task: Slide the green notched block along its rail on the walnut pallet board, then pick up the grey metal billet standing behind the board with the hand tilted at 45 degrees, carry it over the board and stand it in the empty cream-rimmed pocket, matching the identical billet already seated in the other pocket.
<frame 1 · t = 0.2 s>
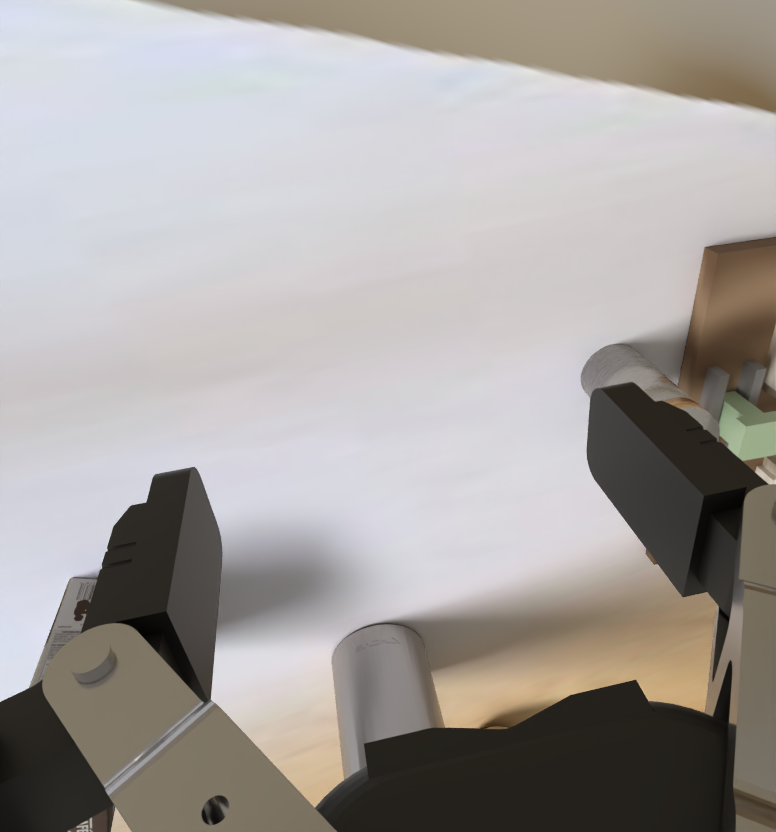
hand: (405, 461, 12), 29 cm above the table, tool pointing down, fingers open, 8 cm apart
green notched block: (740, 424, 47), point 4 cm above the table, slide at 0.0 cm
coffee box: (110, 614, 52), on the table
billet: (610, 372, 48), on the table
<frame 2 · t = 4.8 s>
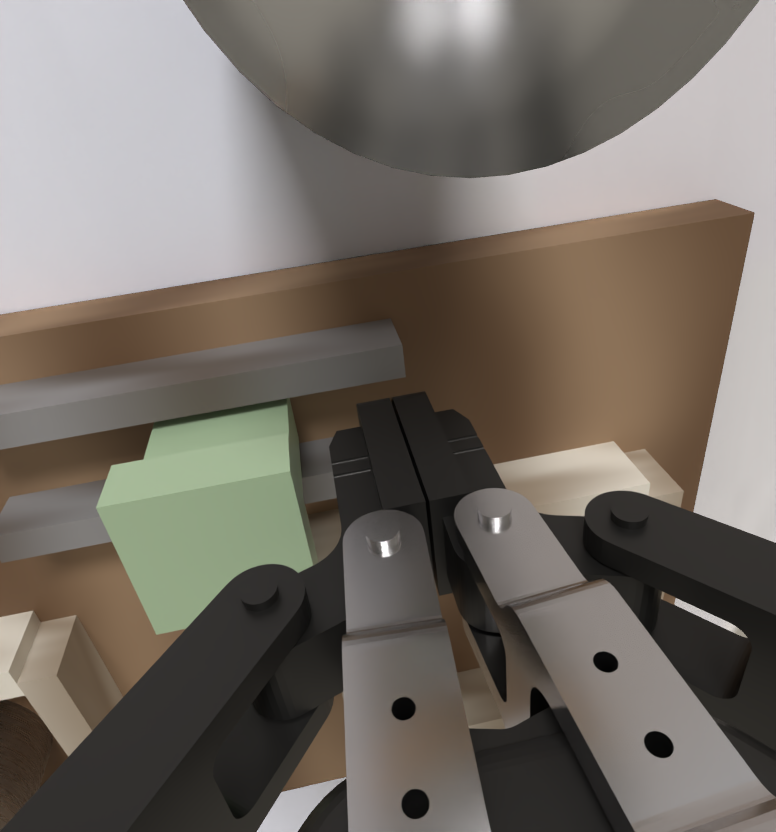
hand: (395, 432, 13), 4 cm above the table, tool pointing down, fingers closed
green notched block: (226, 479, 13), point 4 cm above the table, slide at 0.2 cm, touching gripper
pallet: (231, 584, 20), on the table
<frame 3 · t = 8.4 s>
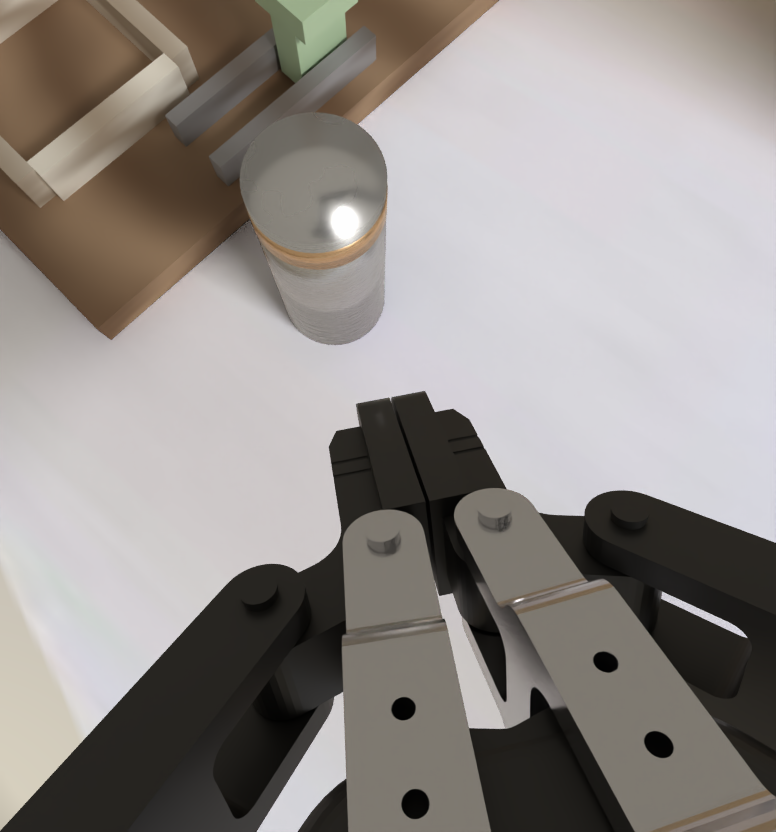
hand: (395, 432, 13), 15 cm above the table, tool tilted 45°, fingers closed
green notched block: (309, 23, 28), point 4 cm above the table, slide at 3.6 cm
pallet: (205, 25, 33), on the table
billet: (335, 297, 30), on the table
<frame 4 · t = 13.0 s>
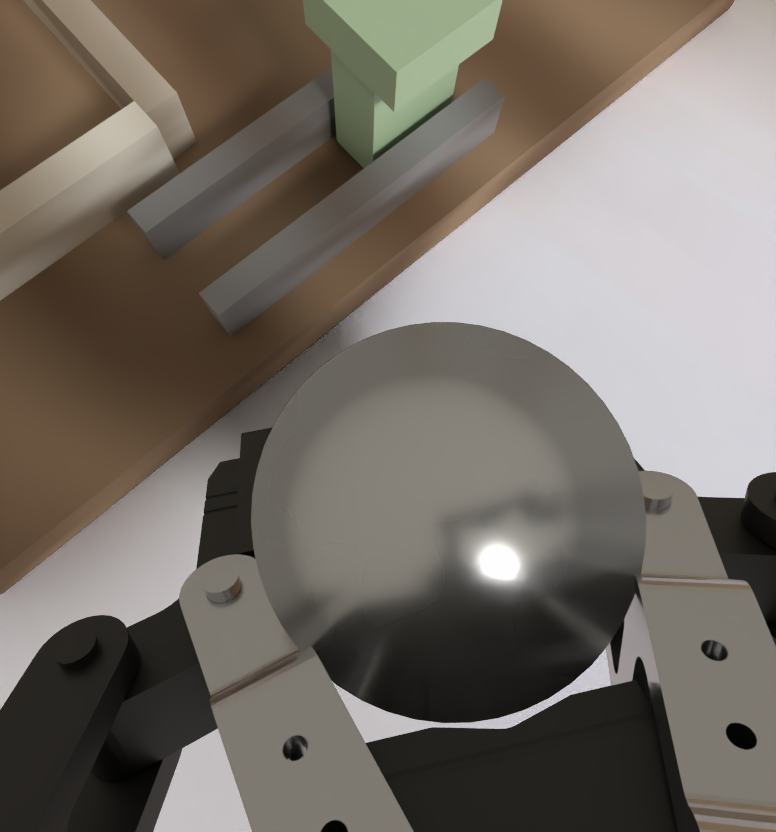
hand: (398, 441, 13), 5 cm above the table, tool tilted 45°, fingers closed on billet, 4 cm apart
green notched block: (397, 68, 16), point 4 cm above the table, slide at 3.6 cm
pallet: (216, 52, 21), on the table
billet: (402, 537, 17), on the table, touching gripper
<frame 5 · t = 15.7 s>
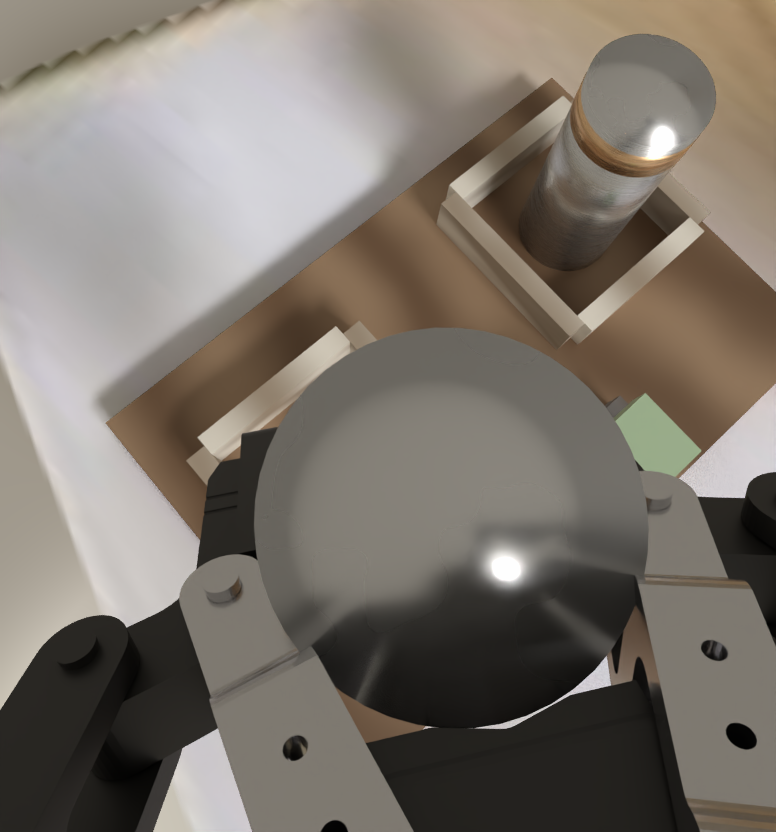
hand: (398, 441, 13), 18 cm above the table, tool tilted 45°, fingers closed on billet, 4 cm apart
green notched block: (622, 455, 27), point 4 cm above the table, slide at 3.6 cm
pallet: (473, 386, 32), on the table
seated billet: (563, 228, 32), resting on pallet
billet: (403, 540, 17), point 13 cm above the table, touching gripper
when the fingers open (7 cm above the table, at t = 18.5 s): billet stays where it is, resting on pallet.
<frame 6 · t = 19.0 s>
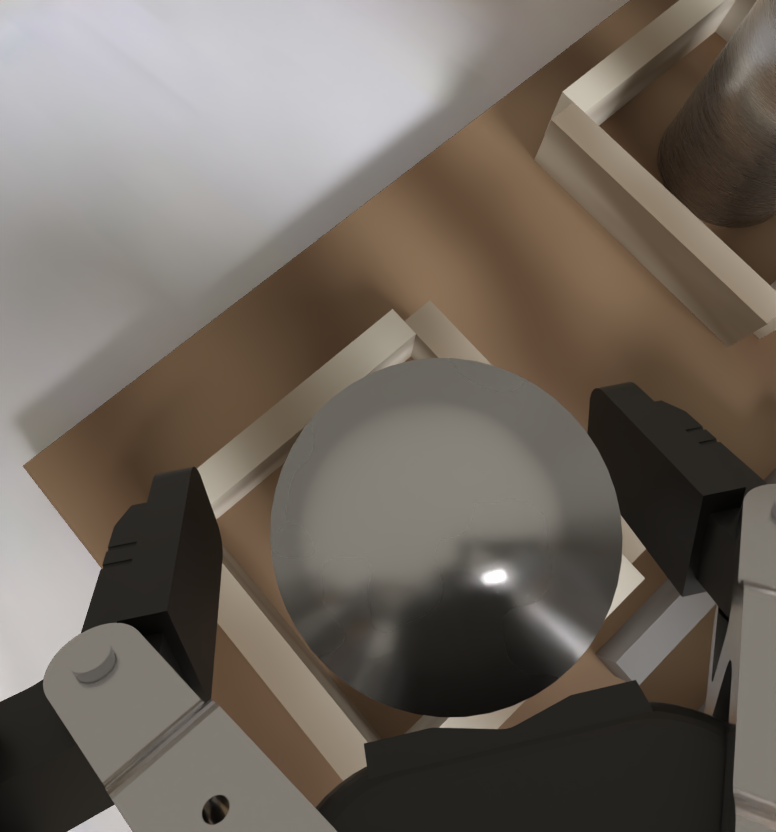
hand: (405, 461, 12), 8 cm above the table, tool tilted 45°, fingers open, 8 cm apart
pallet: (593, 403, 21), on the table
seated billet: (725, 165, 21), resting on pallet
billet: (403, 545, 18), point 2 cm above the table, touching pallet
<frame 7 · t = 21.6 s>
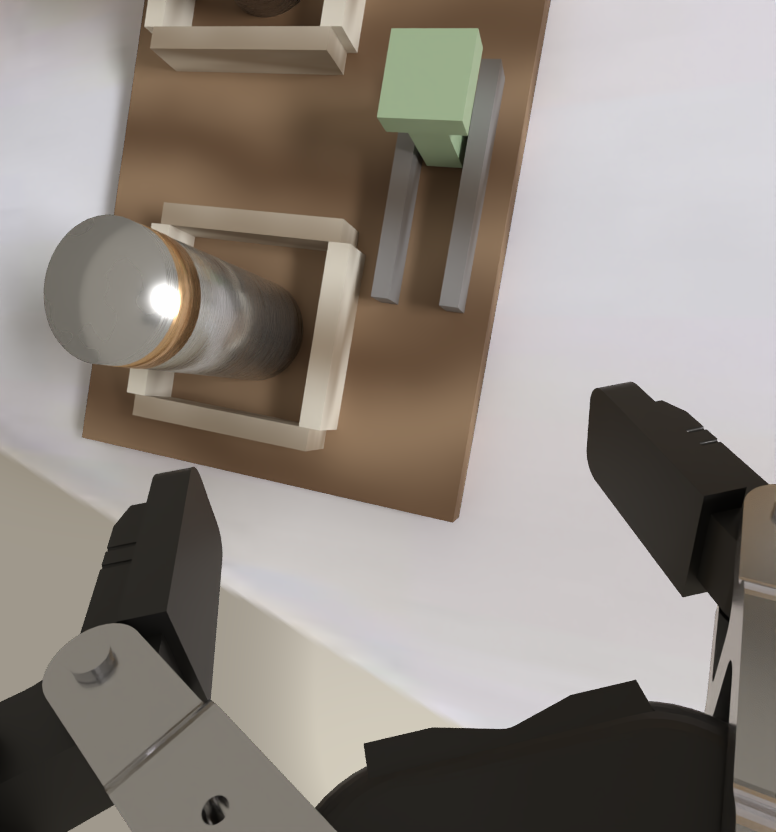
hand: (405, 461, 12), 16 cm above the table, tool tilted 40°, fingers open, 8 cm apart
green notched block: (439, 105, 24), point 4 cm above the table, slide at 3.6 cm
pallet: (312, 173, 30), on the table
billet: (257, 330, 29), point 2 cm above the table, touching pallet
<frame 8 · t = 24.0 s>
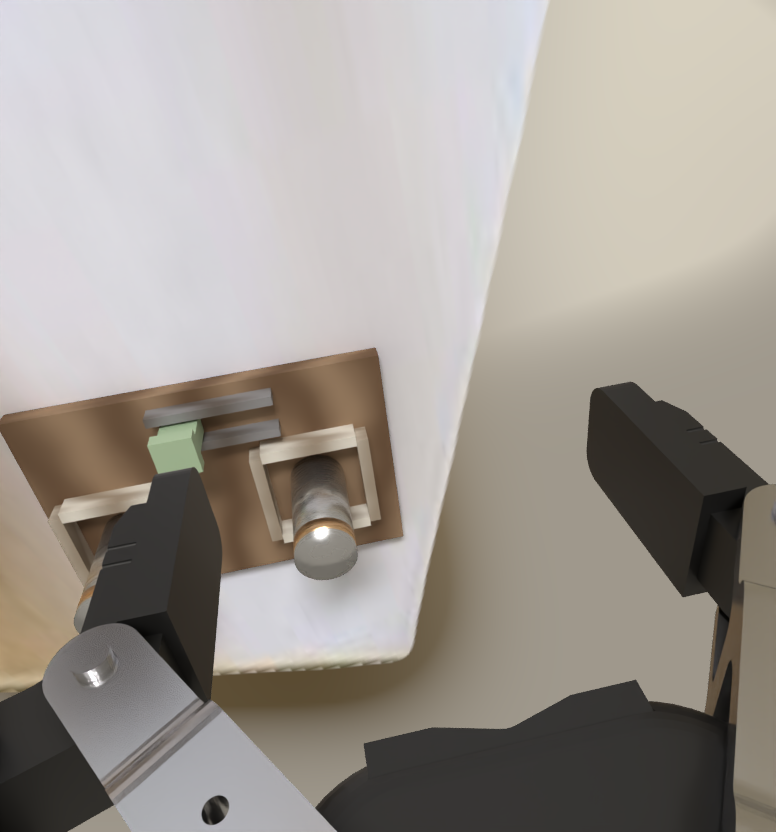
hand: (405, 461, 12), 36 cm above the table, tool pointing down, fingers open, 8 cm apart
green notched block: (179, 441, 48), point 4 cm above the table, slide at 3.6 cm
pallet: (225, 477, 55), on the table
seated billet: (132, 533, 55), resting on pallet
billet: (317, 476, 55), point 2 cm above the table, touching pallet
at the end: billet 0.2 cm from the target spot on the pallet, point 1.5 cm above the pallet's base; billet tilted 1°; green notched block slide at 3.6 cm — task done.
